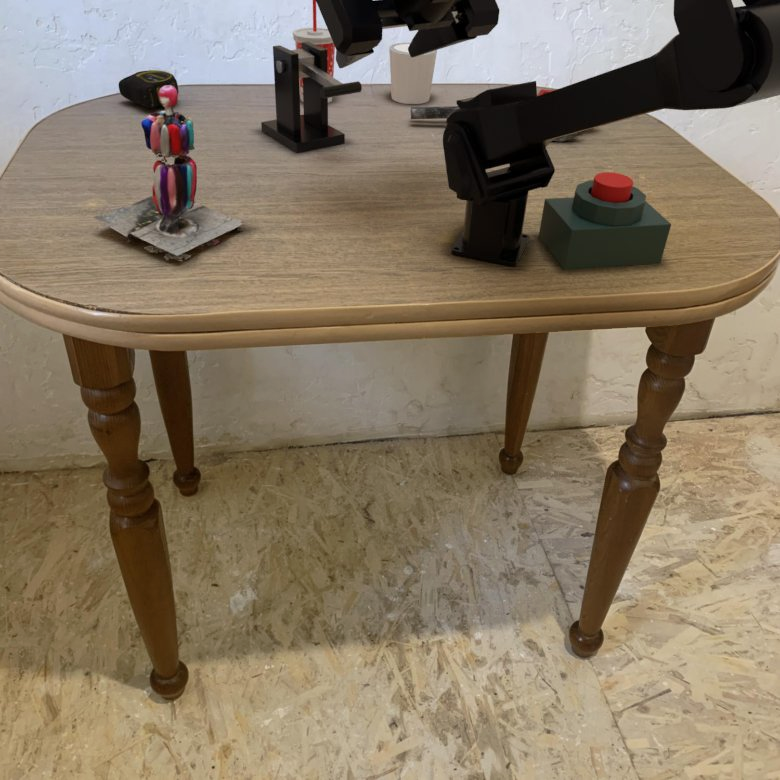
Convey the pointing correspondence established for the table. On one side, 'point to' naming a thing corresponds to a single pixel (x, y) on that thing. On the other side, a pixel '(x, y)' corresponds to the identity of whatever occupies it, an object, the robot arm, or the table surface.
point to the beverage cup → (318, 38)
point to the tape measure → (146, 87)
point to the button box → (602, 230)
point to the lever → (324, 77)
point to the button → (612, 187)
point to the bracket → (289, 123)
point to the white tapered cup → (410, 74)
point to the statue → (171, 191)
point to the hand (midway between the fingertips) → (375, 58)
